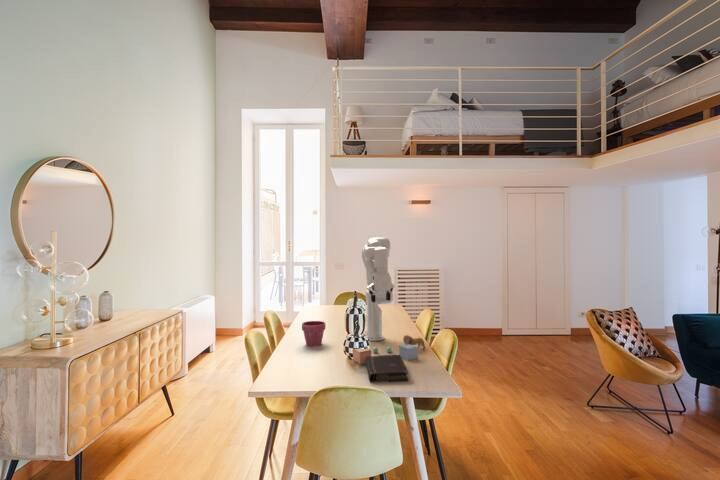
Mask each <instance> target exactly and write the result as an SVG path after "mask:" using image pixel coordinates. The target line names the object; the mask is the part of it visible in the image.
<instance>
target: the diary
mask: <svg viewBox="0 0 720 480" xmlns="http://www.w3.org/2000/svg"><path fill="white" fill-rule="evenodd" d="M365 361H366V363H365V367H366V371H367V374H368V381H369V383H372V378H373V382H387V383H397V382H398V383H399V382H400V383H401V382H408V381H410V380H409V378H408V376H407V374H410V372H409V370H408V368H407V366H406V364H405V363H404V359H403V358H401V356H400V355H399V354H382V355H371V356H367V357H366V359H365Z"/></svg>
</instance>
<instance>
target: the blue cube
mask: <svg viewBox="0 0 720 480" xmlns="http://www.w3.org/2000/svg"><path fill="white" fill-rule="evenodd" d="M417 347H418V346H416V345H411V344H402V345H399V346H398V355H400V356H401V358H402V360H405V361H411V360H415V359H418V354H419V353H418V349H417Z"/></svg>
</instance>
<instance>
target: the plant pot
mask: <svg viewBox="0 0 720 480" xmlns="http://www.w3.org/2000/svg"><path fill="white" fill-rule="evenodd" d="M301 330H302V331H303V335H304V339H305V343H306V346H310V347H317V346H321V345H322V344H323V343H322V342H323V337H324V332H325V330H326V322H325V321H321V320H311V321H309V320H308V321H304V322H302V324H301Z"/></svg>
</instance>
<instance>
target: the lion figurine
mask: <svg viewBox="0 0 720 480" xmlns="http://www.w3.org/2000/svg"><path fill="white" fill-rule="evenodd" d="M402 340H403V343H404V345H406V344H411V345H413V346H416V345H417V346H416V347H417V350H418V349H420V348H421V347H422V350H423V351H424V350H426V346H425V341H424V339H423V338H421V337H416V338H413V337H412V336H410V335H408V334H405V335H404V336H403V339H402Z"/></svg>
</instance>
